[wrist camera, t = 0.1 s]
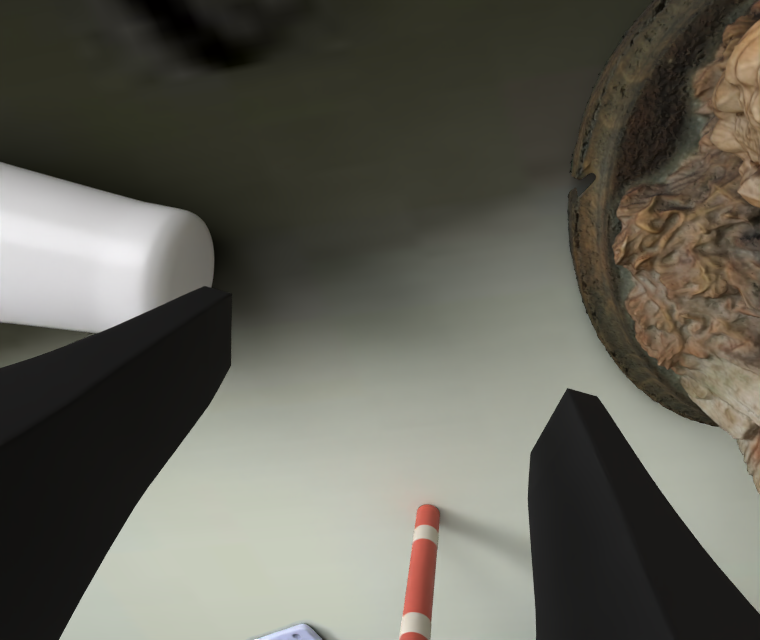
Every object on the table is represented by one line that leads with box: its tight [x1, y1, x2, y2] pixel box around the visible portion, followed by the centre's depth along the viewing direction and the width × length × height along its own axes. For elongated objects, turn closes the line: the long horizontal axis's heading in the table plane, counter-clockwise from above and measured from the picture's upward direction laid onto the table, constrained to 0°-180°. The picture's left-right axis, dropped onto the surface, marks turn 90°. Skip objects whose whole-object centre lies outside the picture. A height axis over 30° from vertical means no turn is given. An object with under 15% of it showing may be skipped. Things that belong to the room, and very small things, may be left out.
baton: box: [399, 505, 440, 640], centre depth 22 cm, size 1×1×8 cm
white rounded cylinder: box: [0, 162, 214, 333], centre depth 20 cm, size 7×7×15 cm
